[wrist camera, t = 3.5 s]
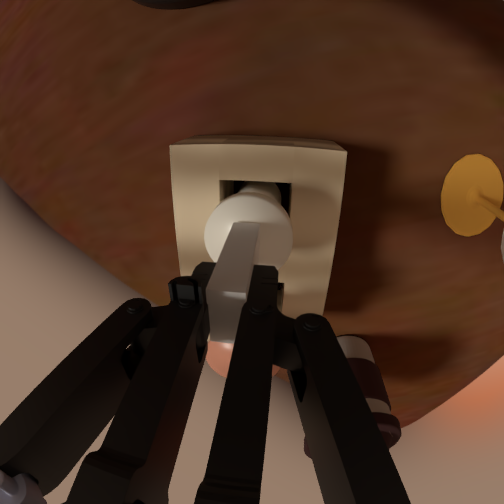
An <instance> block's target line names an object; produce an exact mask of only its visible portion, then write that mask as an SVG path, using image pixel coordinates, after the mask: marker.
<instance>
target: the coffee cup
mask: <svg viewBox="0 0 504 504" xmlns="http://www.w3.org/2000/svg"><path fill="white" fill-rule="evenodd" d="M336 338H337V340H338V342H339V344H340V346H341V348H342V350H343V352H344V354H345V356H346V358H347V360H348V362H349V364H350V367H351V369H352V371H353V373H354V375H355V377H356V379H357V381H358V383H359V386H360V388H361V390H362V392H363V394H364V396H365V398H366V401H367V403H368V405H369V407H370V409H371V412H372V414H373V416H374V418H375V420H376V423H377V425H378V427H379V429H380V432H381V434H382V436H383V438H384V441H385V443H386V445H387V448H388V450H389V448H391V447H392V446H393V445H395V444H396V443H397V442H398V440H399V439H400V437H401V428H400V423H399V421H398V419H397V418H396V417H395V416H393V415H391V405H390V402H389V399H388V395H387V392H386V389H385V386H384V383H383V380H382V377H381V374H380V371H379V368H378V366H377V365H376V364H375V361H374V358H373V356H372V353H371V350H370V347H369V345H368V344H367V343H366V342H365V341H364V340H363V339H361V338H359V337H355V336H340V337H336ZM304 452H305V454H306V455H307V456H308V457H309V458H311V459H312V457H311V454H310V450H309V447H308V443H307V440H306V436H305V439H304Z"/></svg>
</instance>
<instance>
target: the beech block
mask: <svg viewBox="0 0 504 504" xmlns="http://www.w3.org/2000/svg"><path fill="white" fill-rule="evenodd" d="M346 159H347V151H346V150H344V149H343V148H342V147H340V146H339V145H338V144H336V143H335V142H334V141H328V140H318V139H306V138H292V137H275V136H248V135H200V136H192V137H189V138H187V139H184V140H182V141H179V142H176V143H174V144H171V145H170V163H171V179H172V194H173V206H174V218H175V228H176V238H177V247H178V256H179V265H180V273H181V276H191V275H192V273H193V271H194V269H195V267H196V266H197V265H198V264H200V263H201V262H214V261H213V260H212V259H211V257H210V255H209V254H208V251H207V249H206V246H205V241H204V231H205V226H206V223H207V221H208V219H209V217H210V216H211V214H212V212H213V211H214V209H215V208H216V206H217V205H218V204H219V203H220V202H221V201H223V200H224V199H225V198H227V197H229V196H231V195H233V194H234V180H242V181H265V182H283V183H290V191H289V206H288V216H289V218H290V220H291V224H292V232H293V245H292V250H291V253H290V255H289V258H288V259H287V261H286V262H285V263H284V265H283V266H282V267H281V268H279V269H278V272H279V275H278V282H280V283H282V290H278V293H277V308H278V309H279V311H280V312H281V313H282V314H284V315H285V316H288V317H290V318H294V319H296V318H297V317H298V316H300V315H301V314H305V313H315V314H318V315H321V316H322V315H323V310H324V305H325V300H326V295H327V290H328V285H329V280H330V274H331V268H332V263H333V257H334V251H335V245H336V238H337V232H338V225H339V218H340V210H341V203H342V195H343V187H344V178H345V169H346ZM209 339H210V333H209V336H208V340H207V341H209Z"/></svg>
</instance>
